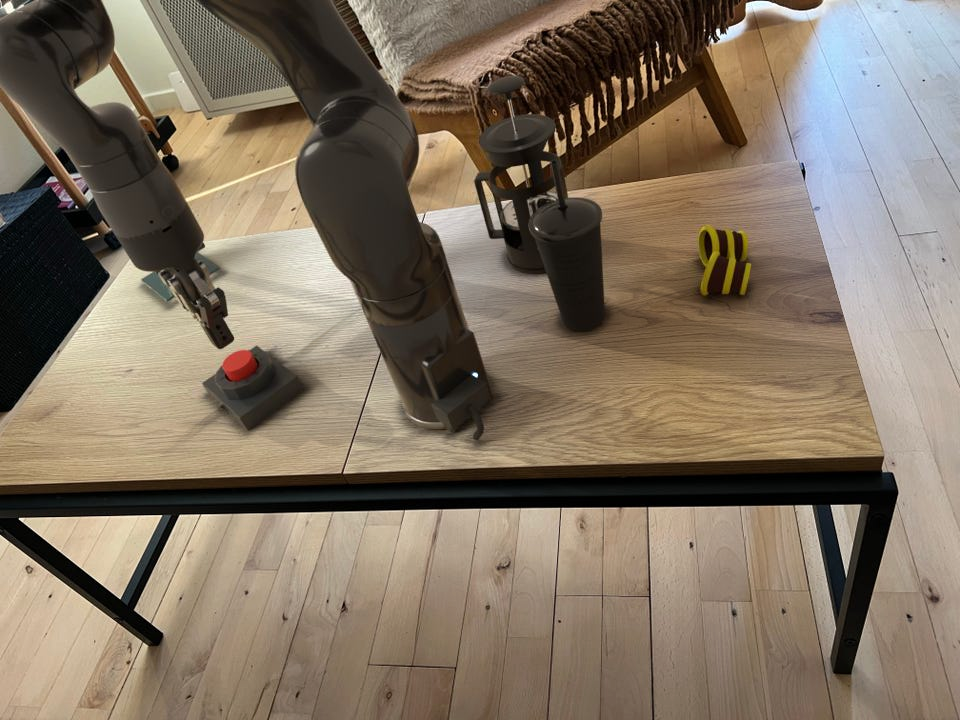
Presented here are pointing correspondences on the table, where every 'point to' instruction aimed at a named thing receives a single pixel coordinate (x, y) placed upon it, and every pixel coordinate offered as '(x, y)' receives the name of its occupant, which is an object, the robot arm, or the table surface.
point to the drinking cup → (572, 256)
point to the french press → (516, 147)
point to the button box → (254, 390)
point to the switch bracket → (162, 289)
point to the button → (239, 365)
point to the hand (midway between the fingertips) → (224, 343)
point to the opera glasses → (723, 260)
